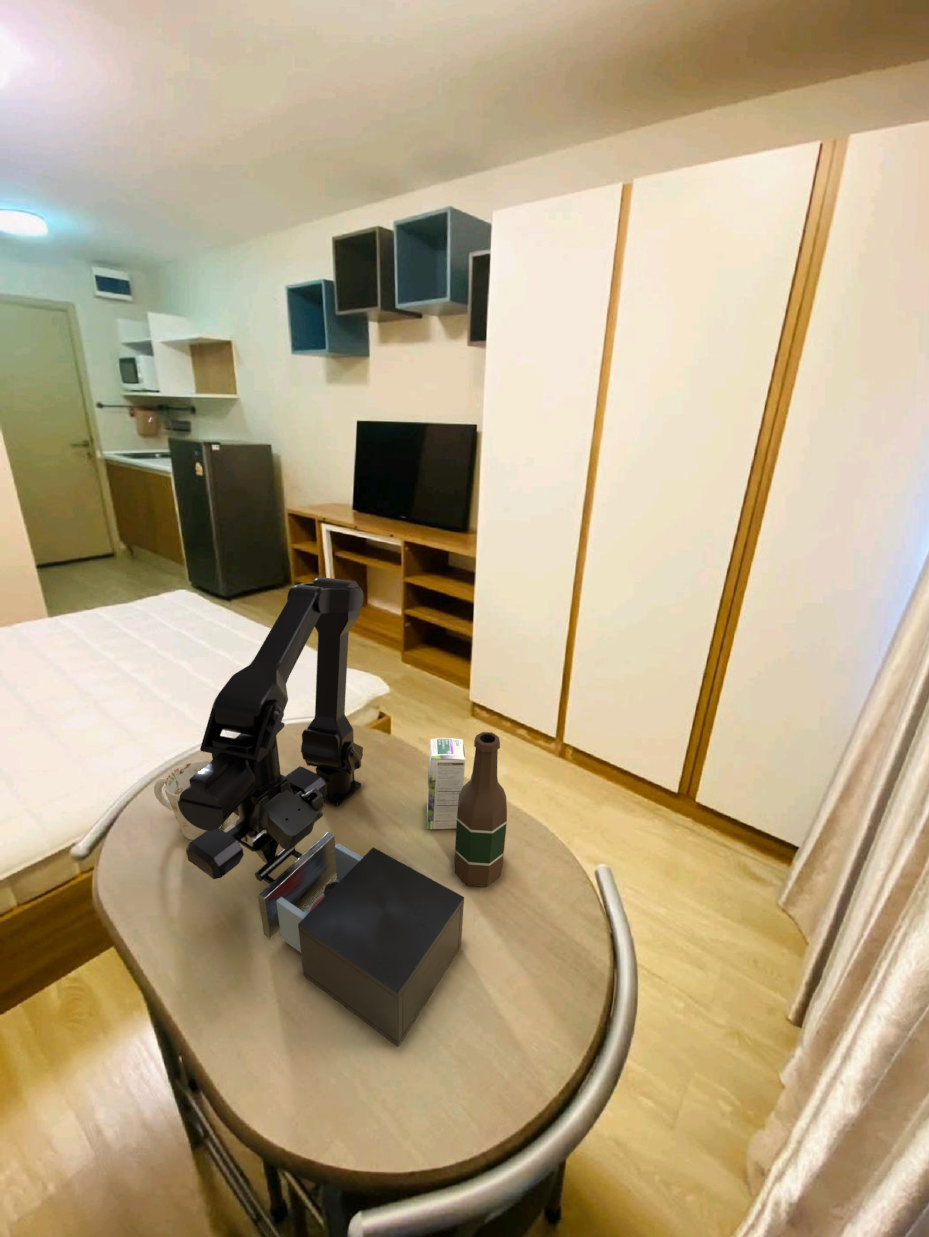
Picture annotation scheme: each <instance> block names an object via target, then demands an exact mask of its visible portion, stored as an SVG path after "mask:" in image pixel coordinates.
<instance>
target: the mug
mask: <svg viewBox="0 0 929 1237" xmlns="http://www.w3.org/2000/svg"><path fill="white" fill-rule="evenodd" d="M211 761H212V760H198V761H193V762H190V763H186V764H183V765H181V766H179V767H177V768H176V769H174V770H172V772H170V773H169V774H168V776H166V777H161V778H159V779H157V780H156V782H155V783H154V786H153V793H154V796H155V798H156V799H157V801H158V802H159V803H160V805H162V806H163V807H165V808H166V809H167V810H169V811H171V812H173V814H174V816H175V818H176V821H177V823H178V825H179V828H180V831H181V834H182V835H183V836H184V838H186V839H187V840H190V841H193V840H194V839H196V838H197V837H199V836H200V835H202V834H203V833H204V832H206V830H202V829H200V828H197V827H195V826H194V825H192V824H191V823H190V822H188V821H187V820H186V819H185V817H184V816H183V815H182V813H181V812H180V809H179V807H178V801H179V798H180V795H181V793H182V792H183V791H184V790H185V789H186V788H187V787H188V786H189V785H190V782H189V780H190V778H191V777H192V776H193V775H195V774H196V773H197V772H198V771H200V770H202V769H203V768H204V767H205V766H206V765H207V764H208V763H210V762H211ZM163 789H164V792H165V795H166V797H165V796H164V795H163V793H162V790H163ZM166 798H167V799H166ZM223 825H224V823H223V824H222V825H221V826H220V829H221V828H222V827H223Z"/></svg>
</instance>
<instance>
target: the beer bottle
mask: <svg viewBox="0 0 929 1237" xmlns="http://www.w3.org/2000/svg"><path fill="white" fill-rule="evenodd" d="M473 740H474V741H473V747H474V748H475V751H474V757H473V765H472V771H471V772H472V773H471V775H470V779H469V781H467V782H466V783H464V786H463V788H462V790H461V792H460V794H459V800H458V810H457V825H456V829H455V846H454V873H455V874H456V875H457V877H459V878H460V879H461V881H462V882H464V883H465V884H466V885H467V886H472V887H473V886H474V887H489V885H491V884H492V883H493V882H495V881H496V880H497V879H499V877H501V876H502V870H503V864H504V853H505V844H506V834H507V833H506V832H507V825H508V806H507V805H508V804H507V803H508V802H507V795H506V791H505V789H504V788H503V786H502V785H501V784H500V783H499V779H498V753H499V752H498V750H499V749H501V740H500V736H498V735H497V734H496V733H493V732H491V731H490V732H488V731H482V732H480V733H478V734H476V735H475V737H474V739H473Z"/></svg>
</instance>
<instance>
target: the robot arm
mask: <svg viewBox="0 0 929 1237" xmlns="http://www.w3.org/2000/svg"><path fill="white" fill-rule="evenodd" d="M363 603H364V591H363V589H362V588H361V587H360V586H359V584H358V583H357V581H356V580H348V579H341V578H340V579H339V578H332V577H324V576H318V577H316V578H314V580H313V582H302V583H299V584H296V585H292V586H291V587H290V589H289V590H288V592H287V598H286V602H285V605H284V606H283V608H282V609H281V611H280V613H279V615H278V616H277V618H276V619H275V622H274V624H273V625H272V626H271V629H270V631H269V632H268V634H267V635H266V636H265V639H264V641H263V643H262V645H261V646H260V648H259V649H258V651H257V653H256V655H255V656H254V658H253V659H252V661H251V662H250V663H249V664H248V665H247V666H245V667H244V668H242V669H240V670H239V671H237V672H235V673H234V674H232V675H231V677H230V678H229V680H227V681H226V683H225V685H224V686H223V687H222V688H221V690H219V692H218V693H217V695H216V697H215V699H214V701H213V703H212V706H211V710H210V714H209V717H208V720H207V724H206V727H205V731H204V734H203V738H202V741H201V745H200V748H199V751H200V752H203V753H208V754H211V758H212V760H210V761H211V762H210V763H208V764H207V765H206V766H205V767H204V768H203V769H202V770H200V771H198V772H197V773H196V774H195V775H193V776H192V777H191V778H190V780H189V782H190V785H189V786H188V787H187V788H186V789H185V790H184V791H183V792H182V793H181V795H180V798H179V801H178V807H179V809H180V812H181V813H182V815H183V816H184V817H185V819H186V820H187V821H188V822H190V823H191V824H192V825H194V826H195V827H197V828H200V829H202V830H206V832H204V833H203V834H202V835H200V836H199V837H197V838H196V839H194V840H190V842H189V843H187V844H186V849H185V852H186V857H187V861H188V862H190V863H191V864H192V865H194V866H195V867H197V868H198V869H199V870H200V871H202V873H204V874H206V875H208V876H209V877H210V878H211V879H213V880H218V879H222V878H223V877H224V876H225V875H227V874H228V873H229V872H230V871H232V870H233V869H234V868H236V867H237V866H238V865H239V864H240V863H241V861H242V859H243V857H244V855H245V854H244V849H243V847H244V848H246V849H247V850H249V851H251V852H253V853H256V855H257V856H258V857H259V858H260V859H261V861H262V862H263V863H264V864H266V863H268V862H269V861H270V860H271V859H272V858H273V857H275V856H276V855H277V851H278V848H279V847H281V848H282V850H283V849H286V850H290V849H292V848H294V847H295V848H296V846H297V845H298V844H299V843H300V842H301V841H302V840H304V839H305V838H306V837H308V836H309V835H311V833H312V832H313V829H314V827H315V823H316V822H317V821H318V820H320V819H321V818H322V817H323V816H324V812H323V809H324V807H325V802H327V803H329V804H331V805H333V806H334V807H339V806H341V805H342V804H343V803H344V802H346V800H348V799H349V798H350V797H351V796H353V794H355V793H356V792H357V791H358V790H359V789H360V788H362V783H361V782H360V781H357V780H355V771H356V770H359V769H361V767H362V759H363V755H364V753H363V752H364V746H361V745H359V744H358V743H355V742H354V738H355V736H354V728H353V726H352V725H351V723H350V721H349V719H348V718H347V716H346V694H347V693H346V692H347V674H348V673H347V672H348V671H347V670H348V655H349V654H348V652H349V634H350V631H351V630H352V628H353V627H354V626H355V624H356V623H357V621H358V620H359V618H360V615H361V609H362V607H363ZM314 629H315V630H316V632H317V650H316V651H317V652H316V676H315V677H316V679H315V680H316V681H315V705H314V707H315V708H314V718H313V719H312V721H311V722H310V723H309V725H308V726H307V728H305V729H304V730H303V731H302V733H301V746H300V753H301V755H302V760H304V761H305V764H306V766H308V767H310V766H311V767H315V772H314V771H312V770H310V769H308V768H306V767H304V766H301V765H299V766H298V767H295V769H293V770H292V771H290V772H289V773H288V774H286V775H283V774H281V765H280V756H279V749H278V748H279V747H278V740H277V739H278V738H277V735H278V734H279V733H280V732H281V731H282V730H283V729H284V728H285V722H283V719H284V717H285V710H286V707H287V705H288V702H289V696H288V690H287V683H288V680H289V677H290V675H291V674H292V672H293V670H294V668H295V666H296V664H297V662H298V660H299V658H300V656H301V654H302V652H303V650H304V648H305V646H306V644H307V642H308V640H309V638H310V636H311V635H312V632H313V631H314ZM222 730H226V731H231V732H236V733H240V734H239V735H238V736H237V737H236V738H235V739H234V738H229V737H224V736H220V734H221V732H222ZM324 801H325V802H324ZM233 814H235V815H236V816H238V817H239V818H238V819H237V820H236V821H235V822H233V823H232V824H231V825H229V826H228V827H226V828H225V829H221V828H220V826H221V825H222V824H223V825H224V823H226V821H227V820H228V819H229V818H230V817H231V815H233ZM223 825H222V826H223Z"/></svg>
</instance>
